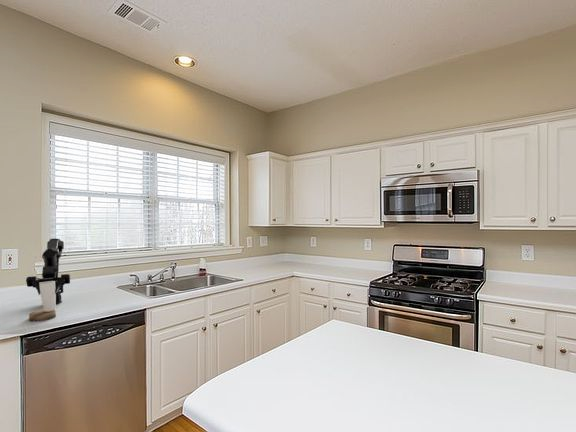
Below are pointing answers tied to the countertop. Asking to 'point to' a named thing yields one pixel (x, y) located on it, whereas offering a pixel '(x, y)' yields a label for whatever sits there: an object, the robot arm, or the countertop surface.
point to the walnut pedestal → (41, 315)
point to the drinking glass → (48, 295)
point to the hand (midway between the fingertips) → (47, 293)
